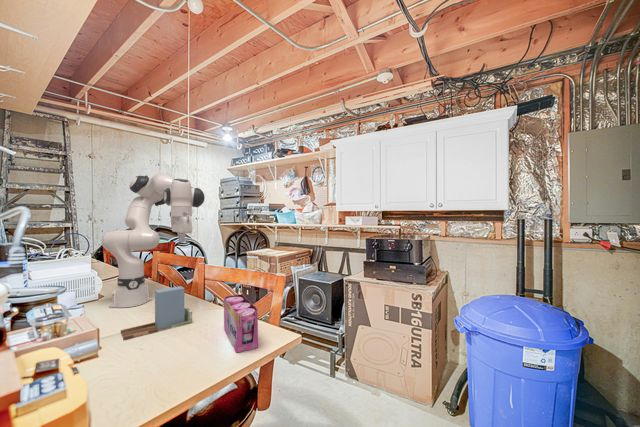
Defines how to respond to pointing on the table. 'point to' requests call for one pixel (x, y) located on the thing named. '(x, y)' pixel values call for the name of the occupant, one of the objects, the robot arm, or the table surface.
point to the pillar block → (169, 307)
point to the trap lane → (151, 327)
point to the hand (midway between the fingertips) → (181, 242)
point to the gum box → (241, 322)
